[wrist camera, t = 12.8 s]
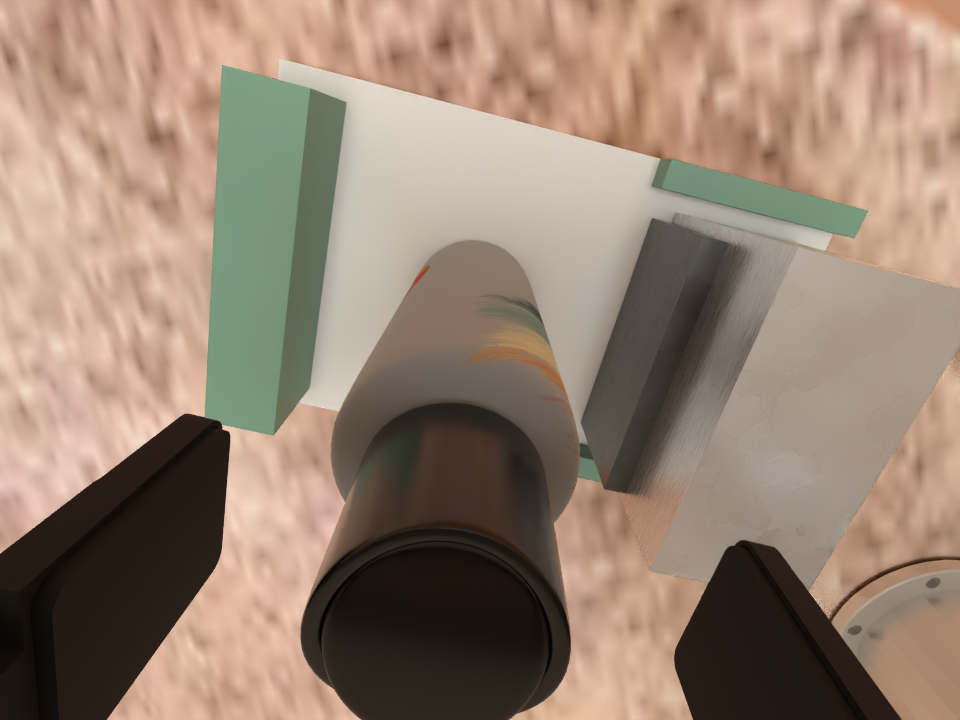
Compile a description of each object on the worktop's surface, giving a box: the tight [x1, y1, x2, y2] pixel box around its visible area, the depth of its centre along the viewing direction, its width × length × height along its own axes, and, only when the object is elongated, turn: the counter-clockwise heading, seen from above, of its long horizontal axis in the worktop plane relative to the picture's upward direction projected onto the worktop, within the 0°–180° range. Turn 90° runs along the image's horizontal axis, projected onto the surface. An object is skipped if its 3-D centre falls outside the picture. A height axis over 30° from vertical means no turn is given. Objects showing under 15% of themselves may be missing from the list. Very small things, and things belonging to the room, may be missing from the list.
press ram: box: [581, 212, 960, 591], centre depth 22 cm, size 7×12×10 cm, turn 167°
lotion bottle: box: [301, 240, 580, 720], centre depth 16 cm, size 6×6×20 cm
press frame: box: [205, 58, 868, 482], centre depth 24 cm, size 26×16×6 cm, turn 77°
